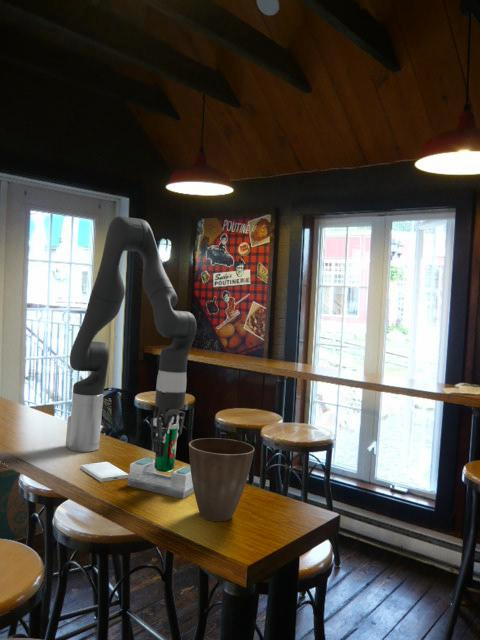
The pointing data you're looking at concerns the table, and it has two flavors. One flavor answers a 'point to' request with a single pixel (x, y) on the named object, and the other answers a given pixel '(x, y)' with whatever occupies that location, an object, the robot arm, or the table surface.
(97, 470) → the hard drive
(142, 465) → the grey u-shaped block
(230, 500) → the plant pot
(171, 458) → the soda can
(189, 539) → the table surface
